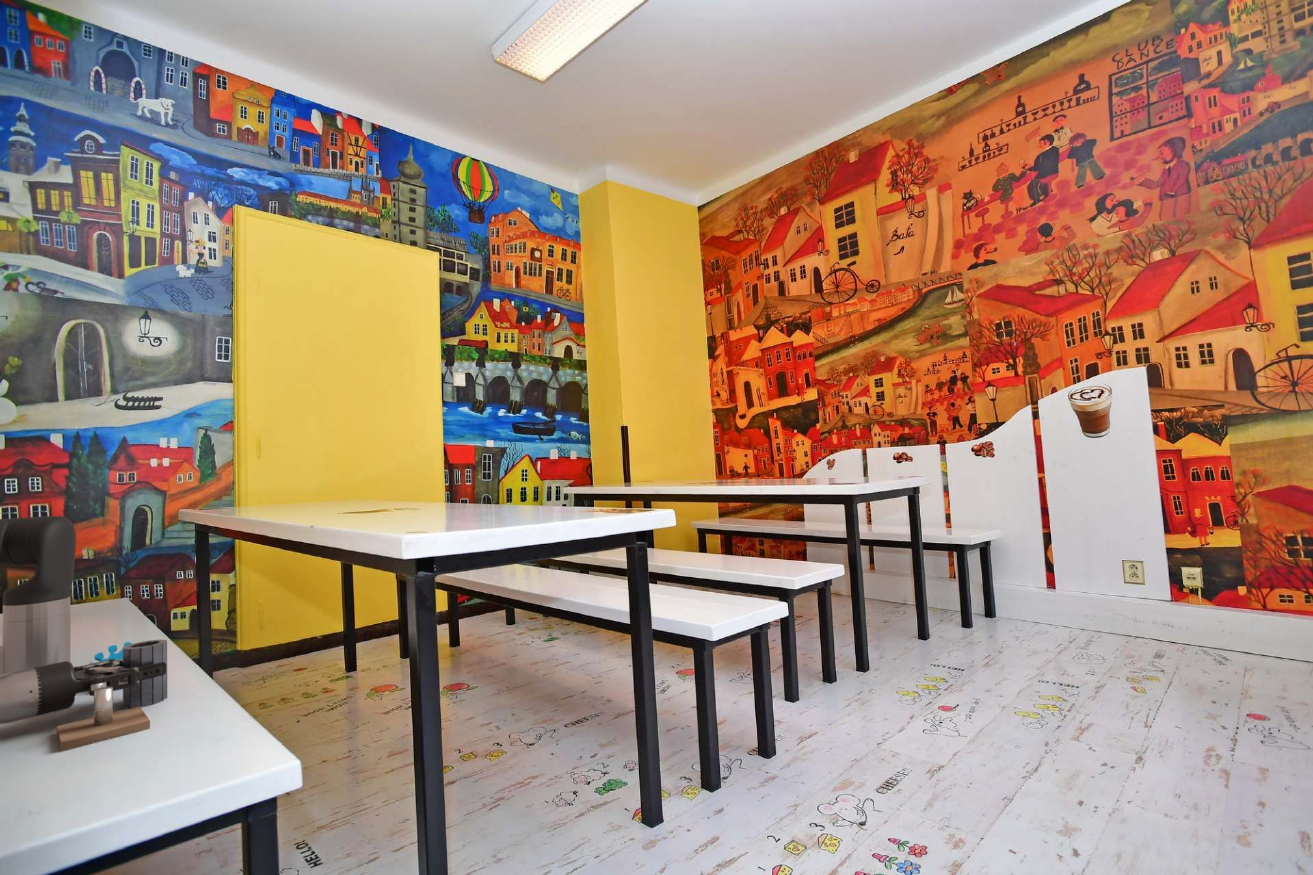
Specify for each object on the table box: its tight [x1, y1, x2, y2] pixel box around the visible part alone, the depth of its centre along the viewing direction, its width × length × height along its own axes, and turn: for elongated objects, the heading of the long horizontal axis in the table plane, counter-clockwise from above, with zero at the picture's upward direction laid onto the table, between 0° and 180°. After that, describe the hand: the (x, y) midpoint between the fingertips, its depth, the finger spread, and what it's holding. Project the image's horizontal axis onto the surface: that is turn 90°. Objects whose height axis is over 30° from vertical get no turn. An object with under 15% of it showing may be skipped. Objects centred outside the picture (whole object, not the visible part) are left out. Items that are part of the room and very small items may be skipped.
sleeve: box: [122, 639, 168, 709], centre depth 110 cm, size 6×6×10 cm
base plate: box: [56, 706, 151, 752], centre depth 97 cm, size 10×10×1 cm
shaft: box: [93, 687, 114, 726], centre depth 97 cm, size 2×2×5 cm
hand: (157, 664), depth 112 cm, fingers open, 8 cm apart
